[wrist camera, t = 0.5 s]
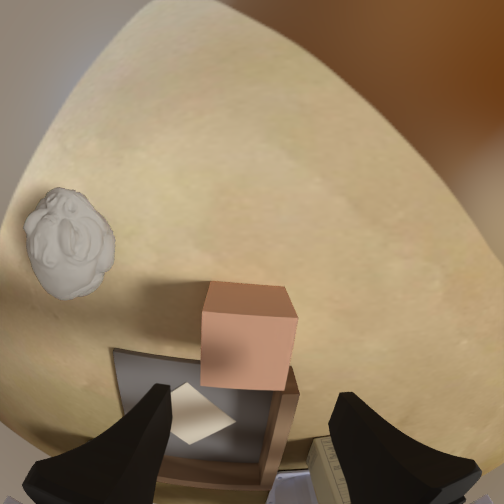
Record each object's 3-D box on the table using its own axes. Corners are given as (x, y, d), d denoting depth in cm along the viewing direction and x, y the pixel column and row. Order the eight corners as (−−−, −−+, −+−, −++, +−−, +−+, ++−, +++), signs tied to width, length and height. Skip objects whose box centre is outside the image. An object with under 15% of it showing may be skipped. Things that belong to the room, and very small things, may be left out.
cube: (275, 348, 21) (284, 390, 16) (207, 344, 20) (200, 385, 16) (284, 286, 20) (298, 317, 15) (210, 280, 19) (202, 311, 15)
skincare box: (304, 460, 24) (326, 553, 12) (313, 436, 23) (342, 539, 11) (359, 452, 25) (393, 535, 13) (371, 428, 24) (415, 517, 12)
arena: (268, 465, 24) (271, 490, 21) (136, 451, 23) (129, 475, 20) (291, 366, 21) (299, 394, 18) (114, 348, 20) (98, 372, 17)
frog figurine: (147, 202, 18) (100, 212, 11) (119, 294, 19) (74, 340, 12) (76, 173, 17) (13, 173, 10) (55, 262, 18) (-2, 291, 12)
